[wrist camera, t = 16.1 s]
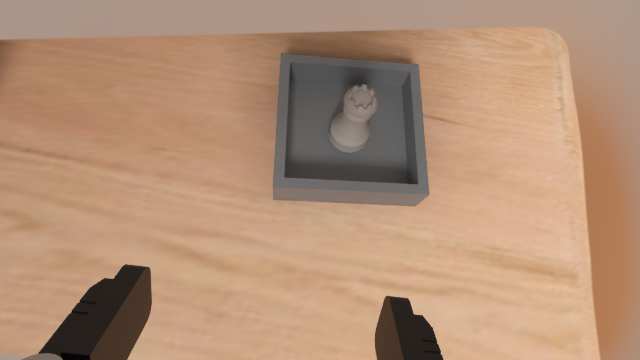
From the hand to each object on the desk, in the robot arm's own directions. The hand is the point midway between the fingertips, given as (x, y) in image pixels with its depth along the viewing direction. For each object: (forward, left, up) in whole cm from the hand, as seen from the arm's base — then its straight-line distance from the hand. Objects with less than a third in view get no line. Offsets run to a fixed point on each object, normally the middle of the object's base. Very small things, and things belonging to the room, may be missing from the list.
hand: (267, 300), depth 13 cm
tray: (+7, +19, -25) cm, 32 cm away
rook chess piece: (+7, +18, -24) cm, 31 cm away
